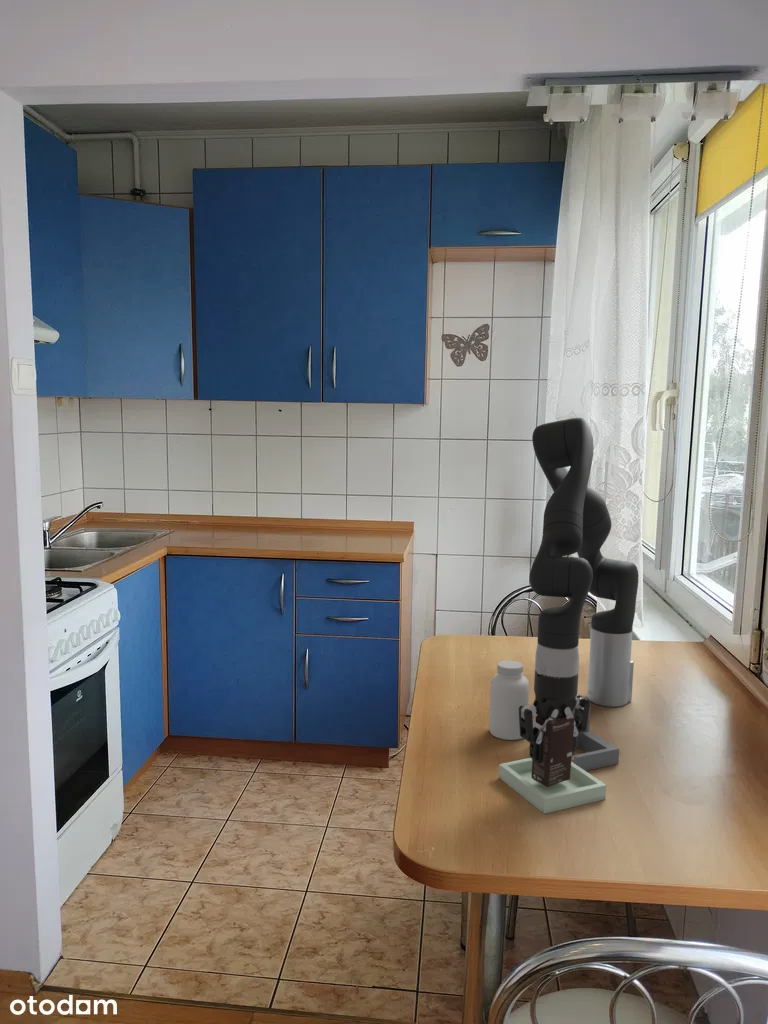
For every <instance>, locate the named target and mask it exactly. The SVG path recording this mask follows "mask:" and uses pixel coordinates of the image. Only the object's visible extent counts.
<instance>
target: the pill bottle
mask: <svg viewBox="0 0 768 1024" xmlns="http://www.w3.org/2000/svg"><path fill="white" fill-rule="evenodd" d="M496 665H497V667H496V669H497V670H496V671H497V673H496V674H495V675H494V676H493V677H491V680H490V692H489V693H490V694H489V696H490V698H489V732H490V734H491V735H492V736H493V737H494V738H497V739H499V740H500V739H501V740H503V741H504V740H505V741H506V740H507V741H516V740H522V739H523V738H522V737H521V736H520V726H519V707H520V706H521V705H523V706H525V707H528V706H530V705H529V702H530V682H529V680H528V678H527V677H526V676H524V663H522V662H519V661H517V660H502V661H498V663H497V664H496Z"/></svg>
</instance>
